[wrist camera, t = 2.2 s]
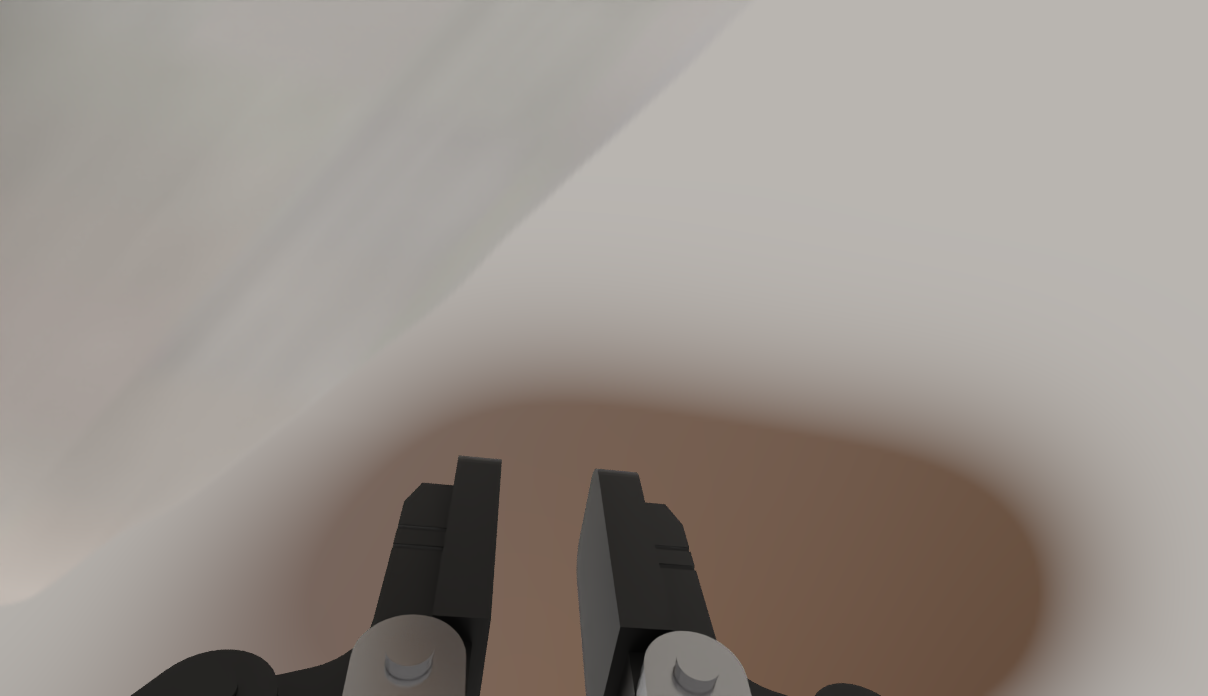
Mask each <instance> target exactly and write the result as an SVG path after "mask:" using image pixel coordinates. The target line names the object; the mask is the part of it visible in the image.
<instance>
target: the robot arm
mask: <svg viewBox="0 0 1208 696" xmlns="http://www.w3.org/2000/svg"><path fill="white" fill-rule="evenodd" d="M501 463H502V460H500V459H490V458H479V457H469V456H459V457H458V463H457V469H456V475H455V481H454V486H452V485H441V484H430V483H422V484H421V485H420V486H419V487H418V488H417V489H416V490H415V491H414V492H413V493H412V494H411V495H410V496H409V497H408V498H407V499H406V500H405V501H404V505H403V508H402V512H401V516H400V520H399V524H398V529H397V531H396V535H395V539H394V543H393V548H392V550H391V554H390V558H389V562H388V566H387V570H386V574H385V577H384V581H383V585H382V589H381V593H380V596H379V600H378V604H377V608H376V612H375V615H374V619H373V622H372V624H371V627H370V629H369V630H367V631H366V632H365V633H364V634H363V635H362V636H361V637H360V639H359V640H358V641H357V642H356V644H355V646H354V648H353V649H351V650H350V651H348V652H347V653H345V654H344V655H342V656H341V657H339V658H337V659H335V660H333V661H330V662H328V663H325V664H323V665H320V666H316V667H312V668H308V669H303V670H298V671H294V672H289V673H285V674H280V675H275V673H274V671H273V669H272V668H271V666H270V665H269V664H268V663H267V662H266V661H265V660H263V659H262V658H261V657H258V656H256V655H254V654H252V653H249V652H245V651H240V650H216V651H209V652H205V653H201V654H198V655H195V656H192V657H189V658H187V659H185V660H183V661H181V662H179V663H177V664H175V665H173V666H172V667H170V668H169V669H167V670H166V671H164V672H163V673H161V674H160V675H159V676H157V677H156V678H155V679H153V680H152V681H150V682H149V683H148V684H146V685H145V686H143V687H142V688H141V689H139V690H138V691H137V692H135V693H134V694H132V695H131V696H480V690H481V683H482V676H483V669H484V662H485V655H486V648H487V641H488V634H489V628H490V621H491V608H492V594H493V579H494V565H495V550H496V536H497V535H496V534H497V521H498V506H499V492H500V478H501V477H500V476H501ZM577 586H578V597H579V598H578V599H579V611H580V623H581V637H582V648H583V662H584V674H585V687H586V696H786V695H783V694H780V693H777V692H774V691H771V690H769V689H766V688H764V687H761V686H759V685H758V684H756V683H754V682H752V681H751V680H749V679H748V678H747V676H746V674H745V671H744V669H743V667H742V665H741V663H740V662H739V661H738V659H737V658H736V656H735V655H734V654H733V653H732V652H730V650H729V649H728V648H726V647H725V646H724V645H722V644H721V643H719V642H717V641H716V638H715V634H714V631H713V627H712V624H711V620H710V617H709V614H708V610H707V607H706V603H705V600H704V597H703V593H702V590H701V586H700V583H699V579H698V576H697V573H696V571H695V570H694V563H693V559H692V556H691V552H689V546H688V542H687V539H686V535H685V532H684V528H683V525H682V524H681V523H680V521H679V520H678V519H677V518H676V517H675V515H673V513H672V512H671V511H670V510H669V509H668V507H667V506H666V505H665V504H654V503H645V501H644V496H643V492H642V487H641V483H640V479H639V475H638V474H637V473H635V472H625V471H615V470H604V469H595V470H594V472H593V475H592V480H591V484H590V489H589V494H588V499H587V504H586V509H585V514H584V519H583V524H582V529H581V534H580V539H579V545H578V555H577ZM815 696H880V695H879V694H877V693H875V692H873V691H871V690H869V689H866V688H863V687H861V686H857V685H853V684H845V683H839V684H832V685H828V686H826V687H824V688H822V689H821V690H819V691H818V692H817V693H816V695H815Z"/></svg>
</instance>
